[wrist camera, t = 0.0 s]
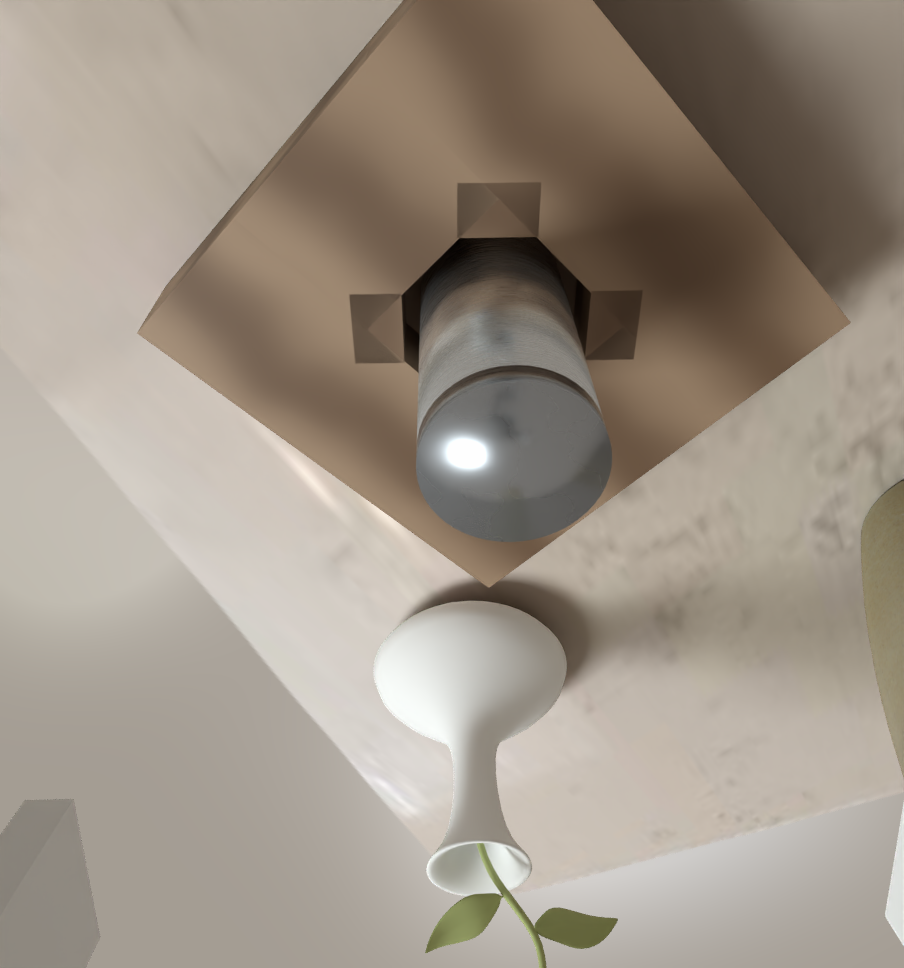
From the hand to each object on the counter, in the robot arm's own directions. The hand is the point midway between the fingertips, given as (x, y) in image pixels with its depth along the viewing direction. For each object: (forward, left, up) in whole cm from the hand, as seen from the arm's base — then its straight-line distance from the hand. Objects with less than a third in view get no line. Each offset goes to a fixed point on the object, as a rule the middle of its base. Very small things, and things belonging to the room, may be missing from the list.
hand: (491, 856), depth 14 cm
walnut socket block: (+1, +3, -28) cm, 28 cm away
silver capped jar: (+1, +3, -27) cm, 27 cm away
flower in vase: (+18, +20, -28) cm, 38 cm away
